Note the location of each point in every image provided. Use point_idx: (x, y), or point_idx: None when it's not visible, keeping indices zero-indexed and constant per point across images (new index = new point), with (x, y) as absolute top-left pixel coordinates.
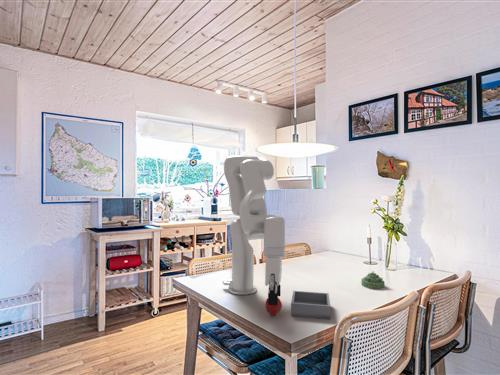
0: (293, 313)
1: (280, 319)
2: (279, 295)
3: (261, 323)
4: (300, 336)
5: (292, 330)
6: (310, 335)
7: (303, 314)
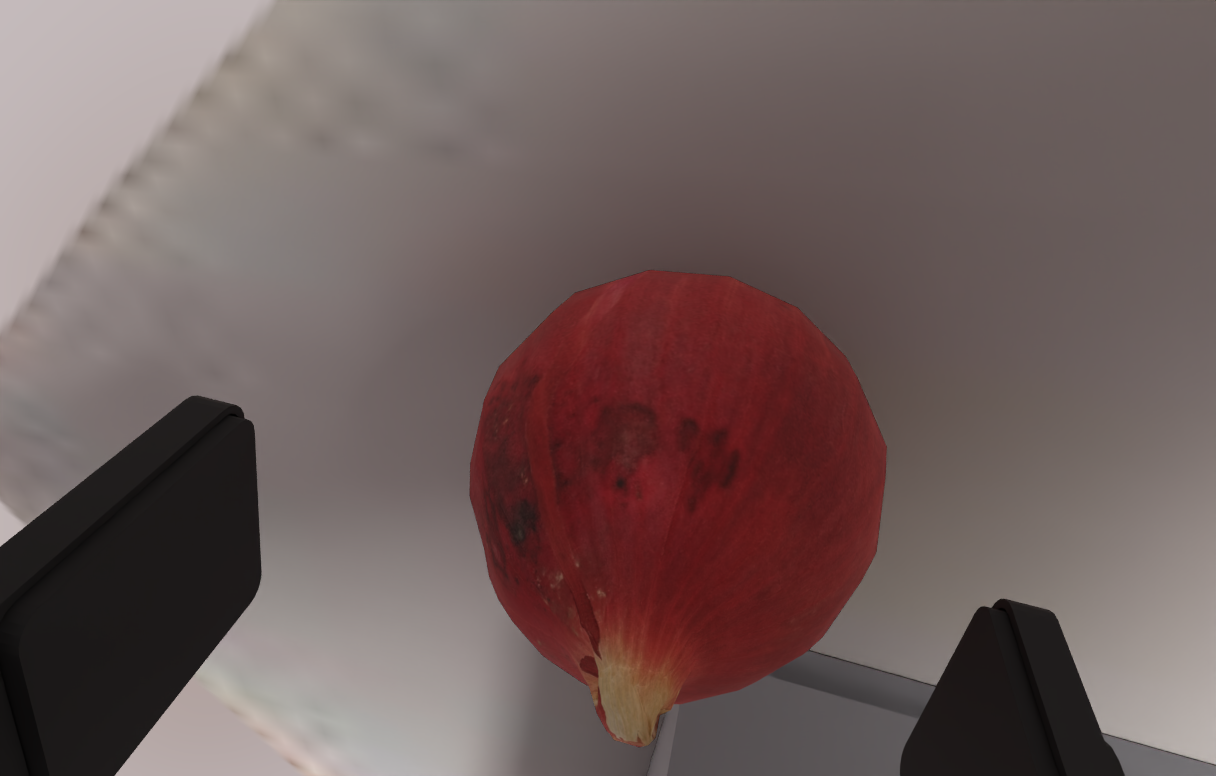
0: None
1: None
2: (907, 765)
3: (340, 102)
4: None
5: None
6: None
7: (651, 773)
